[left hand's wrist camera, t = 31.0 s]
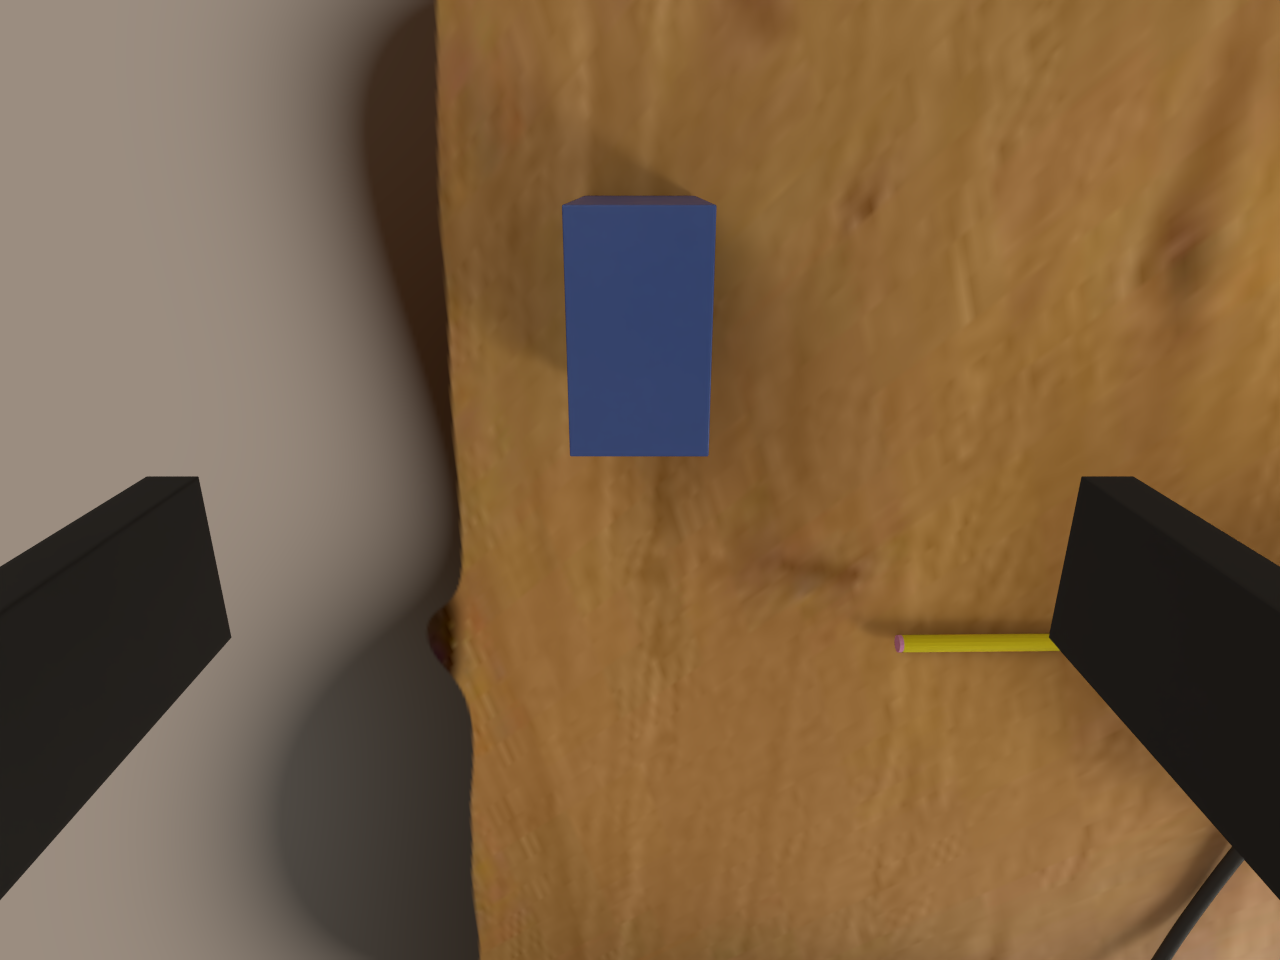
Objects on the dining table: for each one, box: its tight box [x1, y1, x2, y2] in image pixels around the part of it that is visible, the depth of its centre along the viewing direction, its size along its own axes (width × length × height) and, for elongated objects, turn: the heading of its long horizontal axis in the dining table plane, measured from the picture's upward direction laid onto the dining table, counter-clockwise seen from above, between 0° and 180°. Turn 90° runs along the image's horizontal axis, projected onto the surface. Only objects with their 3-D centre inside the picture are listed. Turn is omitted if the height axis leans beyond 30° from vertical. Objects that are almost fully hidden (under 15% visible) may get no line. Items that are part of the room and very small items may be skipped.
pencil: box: [895, 634, 1060, 652], centre depth 47 cm, size 16×1×1 cm, turn 91°
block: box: [562, 196, 716, 456], centre depth 35 cm, size 9×5×12 cm, turn 0°
